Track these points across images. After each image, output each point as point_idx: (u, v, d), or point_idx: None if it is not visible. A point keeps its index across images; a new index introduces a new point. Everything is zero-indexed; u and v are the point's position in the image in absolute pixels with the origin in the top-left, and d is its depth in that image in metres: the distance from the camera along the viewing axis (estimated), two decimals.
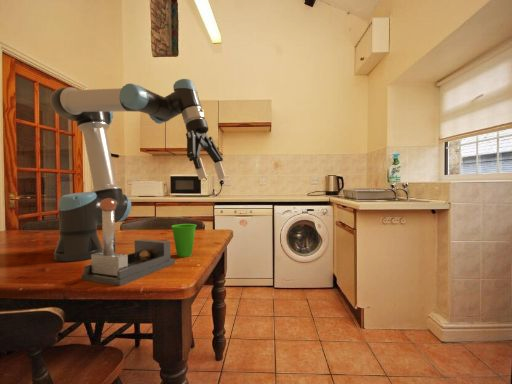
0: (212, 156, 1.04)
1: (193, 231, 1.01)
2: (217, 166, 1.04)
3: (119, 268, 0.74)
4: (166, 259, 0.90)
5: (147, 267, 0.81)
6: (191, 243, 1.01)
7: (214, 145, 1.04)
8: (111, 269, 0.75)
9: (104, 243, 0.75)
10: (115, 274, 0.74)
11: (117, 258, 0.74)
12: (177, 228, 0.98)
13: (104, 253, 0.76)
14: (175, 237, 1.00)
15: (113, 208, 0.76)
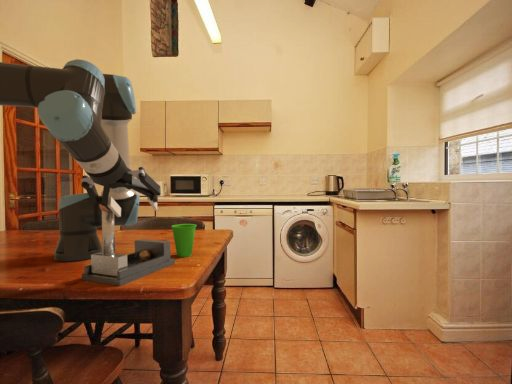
0: None
1: (193, 231, 1.01)
2: None
3: (119, 268, 0.74)
4: (166, 259, 0.90)
5: (147, 267, 0.81)
6: (191, 243, 1.01)
7: (144, 184, 0.67)
8: (110, 269, 0.75)
9: (104, 243, 0.75)
10: (115, 274, 0.74)
11: (117, 258, 0.74)
12: (177, 228, 0.98)
13: (104, 253, 0.75)
14: (175, 237, 1.00)
15: None
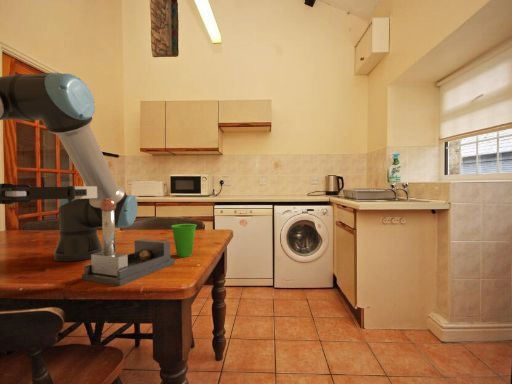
0: None
1: (193, 231, 1.01)
2: None
3: (119, 268, 0.74)
4: (166, 259, 0.90)
5: (147, 267, 0.81)
6: (191, 243, 1.01)
7: (35, 199, 0.53)
8: (111, 269, 0.75)
9: (104, 243, 0.75)
10: (115, 274, 0.74)
11: (117, 258, 0.74)
12: (177, 228, 0.98)
13: (104, 253, 0.76)
14: (175, 237, 1.00)
15: (113, 208, 0.76)
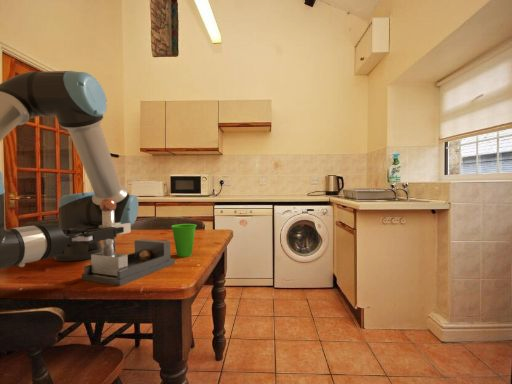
0: None
1: (193, 231, 1.01)
2: None
3: (119, 268, 0.74)
4: (166, 259, 0.90)
5: (147, 267, 0.81)
6: (191, 243, 1.01)
7: None
8: (111, 269, 0.75)
9: (104, 243, 0.75)
10: (115, 274, 0.74)
11: (117, 258, 0.74)
12: (177, 228, 0.98)
13: (104, 253, 0.76)
14: (175, 237, 1.00)
15: (113, 208, 0.76)
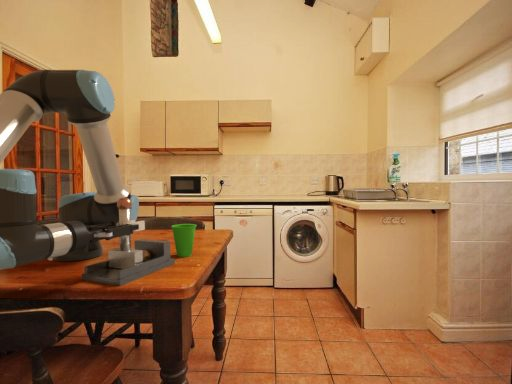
0: None
1: (193, 231, 1.01)
2: None
3: (135, 263, 0.79)
4: (166, 259, 0.90)
5: (147, 267, 0.81)
6: (191, 243, 1.01)
7: None
8: (127, 263, 0.80)
9: (121, 239, 0.81)
10: None
11: (133, 253, 0.79)
12: (177, 228, 0.98)
13: (121, 249, 0.81)
14: (175, 237, 1.00)
15: (129, 206, 0.81)
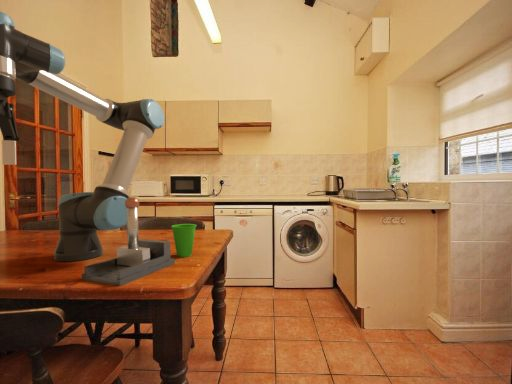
0: None
1: (193, 231, 1.01)
2: None
3: (143, 260, 0.82)
4: (166, 259, 0.90)
5: (147, 267, 0.81)
6: (191, 243, 1.01)
7: None
8: (135, 261, 0.83)
9: (129, 237, 0.83)
10: None
11: (141, 251, 0.82)
12: (177, 228, 0.98)
13: (129, 246, 0.83)
14: (175, 237, 1.00)
15: (137, 206, 0.84)
